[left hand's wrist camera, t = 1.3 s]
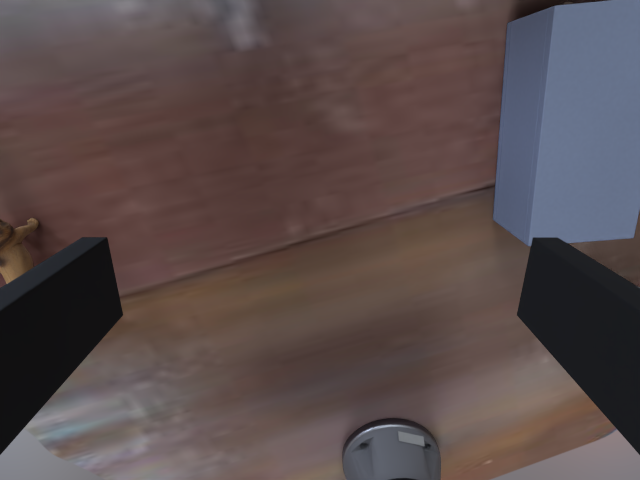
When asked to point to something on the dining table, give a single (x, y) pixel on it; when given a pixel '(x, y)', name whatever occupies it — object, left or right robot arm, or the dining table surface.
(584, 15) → the cabinet
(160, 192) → the dining table surface
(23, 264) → the lion figurine
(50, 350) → the left robot arm
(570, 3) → the drawer
